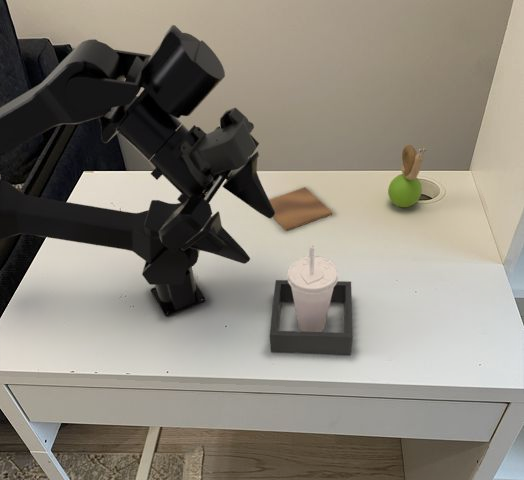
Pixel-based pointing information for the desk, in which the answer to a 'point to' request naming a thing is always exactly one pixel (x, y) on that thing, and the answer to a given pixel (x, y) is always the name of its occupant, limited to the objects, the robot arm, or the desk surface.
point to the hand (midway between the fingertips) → (260, 238)
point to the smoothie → (312, 290)
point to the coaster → (298, 208)
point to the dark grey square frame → (311, 340)
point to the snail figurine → (407, 179)
